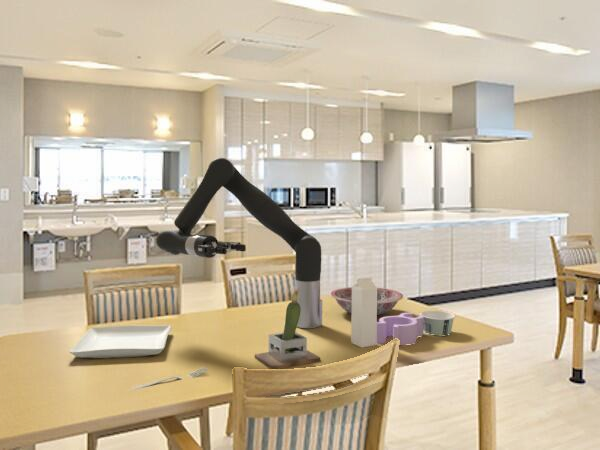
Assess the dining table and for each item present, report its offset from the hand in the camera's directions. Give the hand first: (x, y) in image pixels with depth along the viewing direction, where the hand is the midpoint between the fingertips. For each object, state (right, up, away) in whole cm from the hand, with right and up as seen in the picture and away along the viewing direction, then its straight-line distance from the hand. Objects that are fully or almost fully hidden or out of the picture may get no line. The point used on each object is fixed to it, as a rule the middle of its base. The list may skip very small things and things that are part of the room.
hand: (235, 249), depth 167 cm
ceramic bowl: (+48, -28, +45) cm, 71 cm away
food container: (+69, -31, +18) cm, 78 cm away
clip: (+55, -31, +11) cm, 64 cm away
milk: (+42, -32, +4) cm, 52 cm away
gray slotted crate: (+17, -32, -11) cm, 38 cm away
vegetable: (+17, -32, -11) cm, 37 cm away
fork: (-15, -34, -28) cm, 47 cm away
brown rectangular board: (+17, -32, -11) cm, 38 cm away
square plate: (-36, -32, +1) cm, 48 cm away
